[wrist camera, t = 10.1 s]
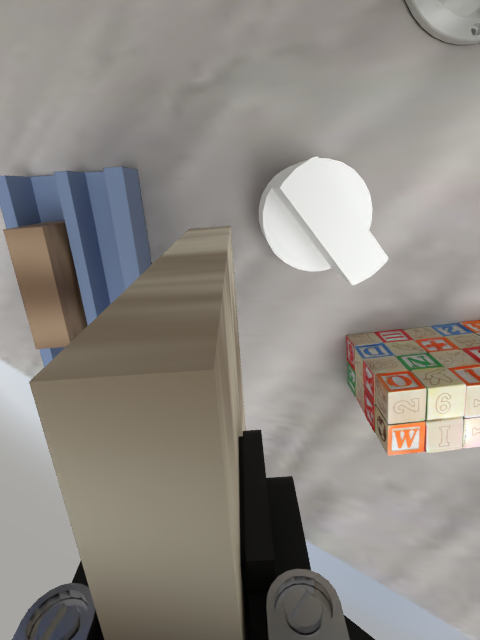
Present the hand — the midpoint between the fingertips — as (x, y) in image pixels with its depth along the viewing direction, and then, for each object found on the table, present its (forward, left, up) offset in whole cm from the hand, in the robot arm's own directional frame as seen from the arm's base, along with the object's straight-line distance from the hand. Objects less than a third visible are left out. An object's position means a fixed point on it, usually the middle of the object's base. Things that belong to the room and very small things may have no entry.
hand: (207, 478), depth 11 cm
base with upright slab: (-5, +8, -29) cm, 31 cm away
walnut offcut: (-1, -15, -28) cm, 32 cm away
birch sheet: (0, 0, -10) cm, 10 cm away
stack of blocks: (+11, +23, -29) cm, 39 cm away
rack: (-1, -13, -29) cm, 32 cm away
